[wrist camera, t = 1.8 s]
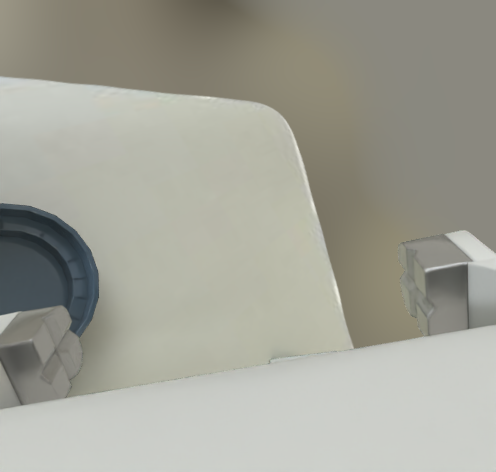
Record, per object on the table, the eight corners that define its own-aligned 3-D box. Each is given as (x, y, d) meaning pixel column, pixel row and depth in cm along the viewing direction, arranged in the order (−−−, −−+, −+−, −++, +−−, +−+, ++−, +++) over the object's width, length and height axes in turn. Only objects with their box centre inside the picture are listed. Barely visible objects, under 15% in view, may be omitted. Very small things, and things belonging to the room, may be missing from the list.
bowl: (-97, 382, 39) (-99, 381, 35) (-82, 214, 43) (-83, 195, 39) (85, 366, 48) (100, 363, 44) (84, 225, 52) (97, 211, 48)
